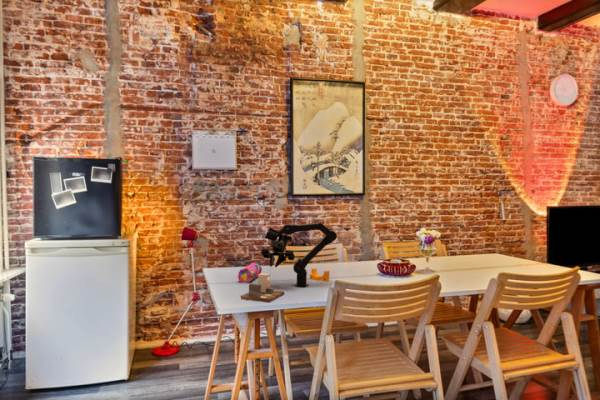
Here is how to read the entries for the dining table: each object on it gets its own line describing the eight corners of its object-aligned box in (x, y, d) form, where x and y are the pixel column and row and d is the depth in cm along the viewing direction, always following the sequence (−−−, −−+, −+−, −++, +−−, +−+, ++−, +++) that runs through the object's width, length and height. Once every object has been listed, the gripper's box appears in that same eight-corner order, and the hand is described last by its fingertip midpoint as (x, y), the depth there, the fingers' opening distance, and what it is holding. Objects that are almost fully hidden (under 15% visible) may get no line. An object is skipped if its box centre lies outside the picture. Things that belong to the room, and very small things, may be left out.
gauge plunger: (261, 289, 229) (262, 273, 229) (276, 291, 226) (276, 274, 225) (258, 291, 225) (258, 274, 225) (272, 293, 222) (273, 276, 221)
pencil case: (252, 284, 251) (252, 268, 251) (237, 283, 253) (237, 267, 252) (262, 276, 272) (262, 262, 272) (248, 275, 274) (248, 261, 274)
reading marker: (267, 292, 222) (267, 284, 222) (272, 293, 221) (272, 284, 221) (266, 293, 221) (266, 284, 221) (271, 293, 220) (271, 285, 220)
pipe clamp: (309, 279, 266) (309, 269, 266) (313, 278, 269) (313, 268, 269) (324, 282, 258) (325, 271, 258) (329, 281, 262) (329, 270, 261)
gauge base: (257, 291, 234) (257, 277, 234) (284, 294, 228) (284, 280, 228) (240, 298, 217) (240, 284, 217) (269, 302, 211) (269, 287, 211)
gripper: (262, 234, 243) (253, 256, 233) (293, 236, 236) (284, 259, 226) (268, 246, 251) (259, 268, 241) (298, 248, 244) (290, 271, 234)
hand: (273, 266), depth 235 cm, fingers open, 3 cm apart
